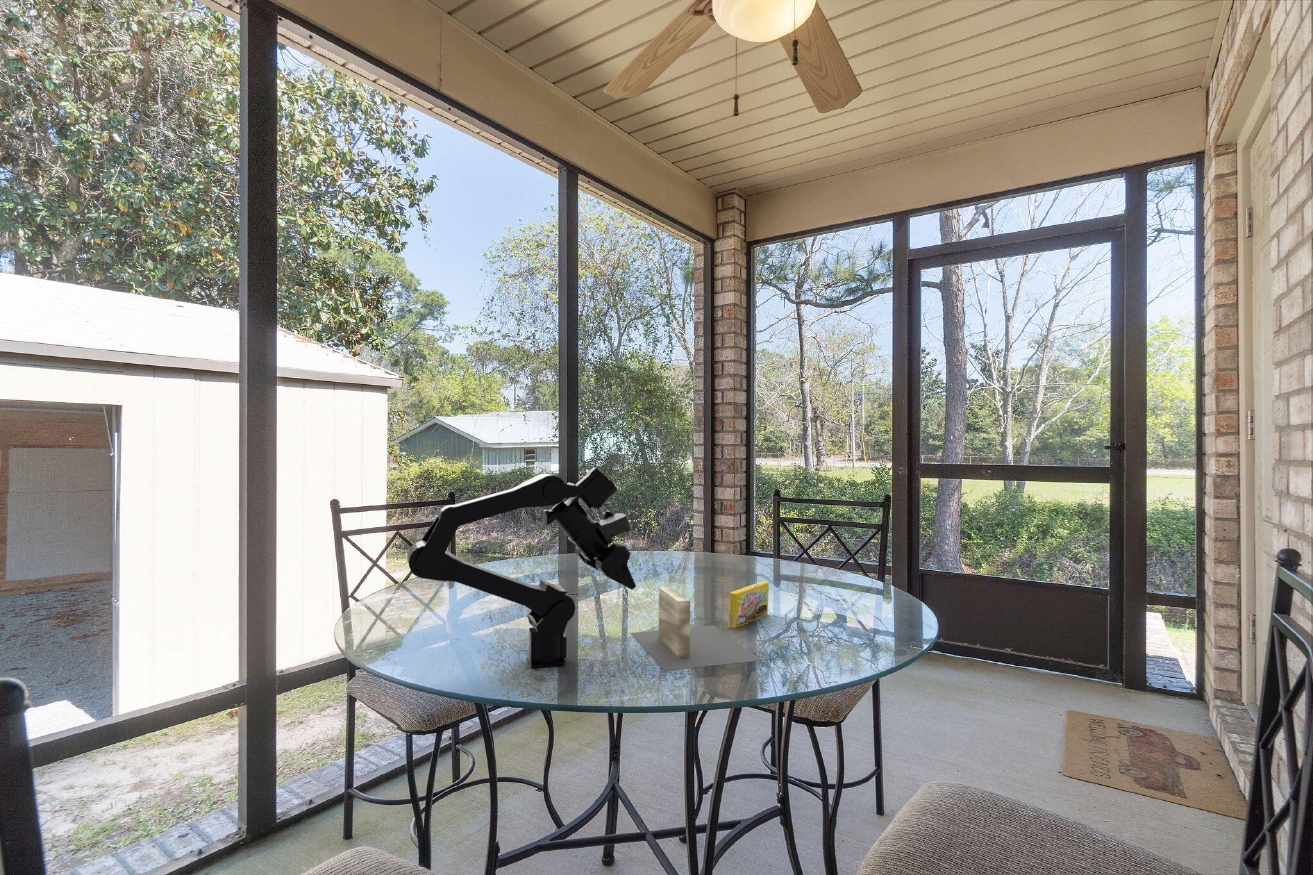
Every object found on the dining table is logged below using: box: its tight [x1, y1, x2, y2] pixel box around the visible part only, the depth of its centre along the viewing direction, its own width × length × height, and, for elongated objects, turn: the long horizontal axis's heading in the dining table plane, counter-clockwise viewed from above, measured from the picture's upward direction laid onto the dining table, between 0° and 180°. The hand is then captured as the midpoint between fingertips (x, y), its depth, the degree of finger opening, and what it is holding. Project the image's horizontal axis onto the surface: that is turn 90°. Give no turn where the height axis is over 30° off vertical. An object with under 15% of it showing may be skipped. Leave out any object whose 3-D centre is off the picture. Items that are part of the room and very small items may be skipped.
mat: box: [629, 625, 762, 672], centre depth 132 cm, size 20×24×1 cm
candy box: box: [727, 580, 770, 629], centre depth 152 cm, size 16×2×8 cm, turn 143°
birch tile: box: [658, 586, 691, 658], centre depth 131 cm, size 2×12×11 cm, turn 18°
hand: (625, 583), depth 129 cm, fingers open, 9 cm apart
